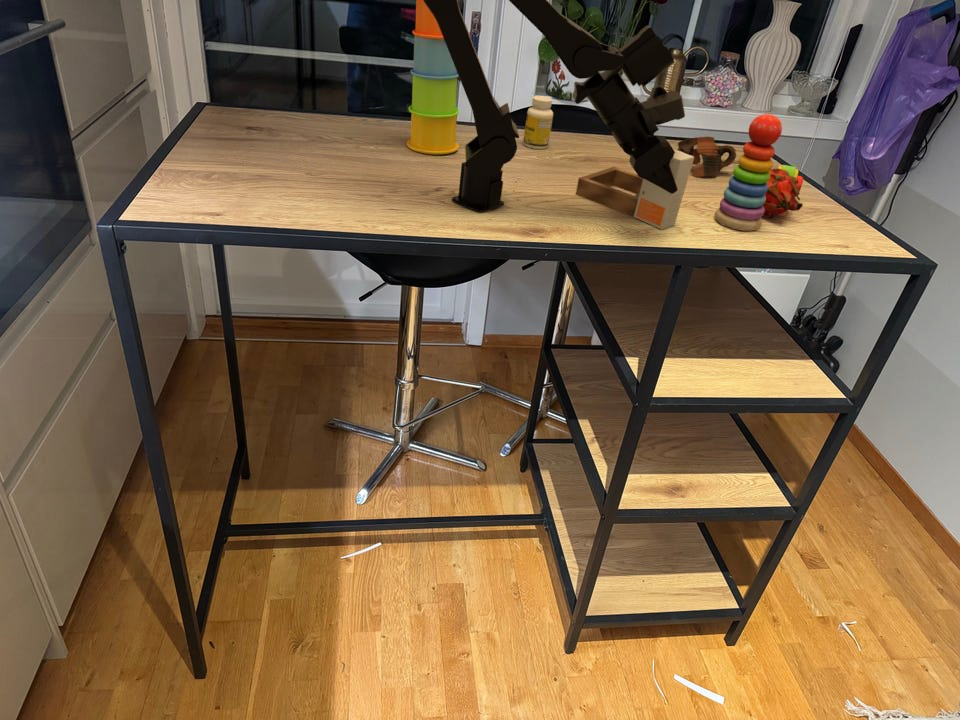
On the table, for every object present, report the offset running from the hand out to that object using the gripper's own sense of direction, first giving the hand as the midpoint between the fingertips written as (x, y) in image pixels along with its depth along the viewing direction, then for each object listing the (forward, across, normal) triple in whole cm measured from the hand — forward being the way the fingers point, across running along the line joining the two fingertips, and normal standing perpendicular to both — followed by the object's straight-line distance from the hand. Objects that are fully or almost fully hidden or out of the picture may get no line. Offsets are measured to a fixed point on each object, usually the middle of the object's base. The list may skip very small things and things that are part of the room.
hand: (667, 182), depth 117 cm
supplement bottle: (-8, +37, +18) cm, 41 cm away
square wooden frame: (+4, +13, +6) cm, 15 cm away
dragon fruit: (+22, +10, -12) cm, 26 cm away
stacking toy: (+16, +3, -6) cm, 17 cm away
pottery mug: (+17, +31, -7) cm, 36 cm away
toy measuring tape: (+26, +22, -16) cm, 38 cm away
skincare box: (+4, 0, +6) cm, 7 cm away
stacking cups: (-23, +28, +33) cm, 49 cm away
